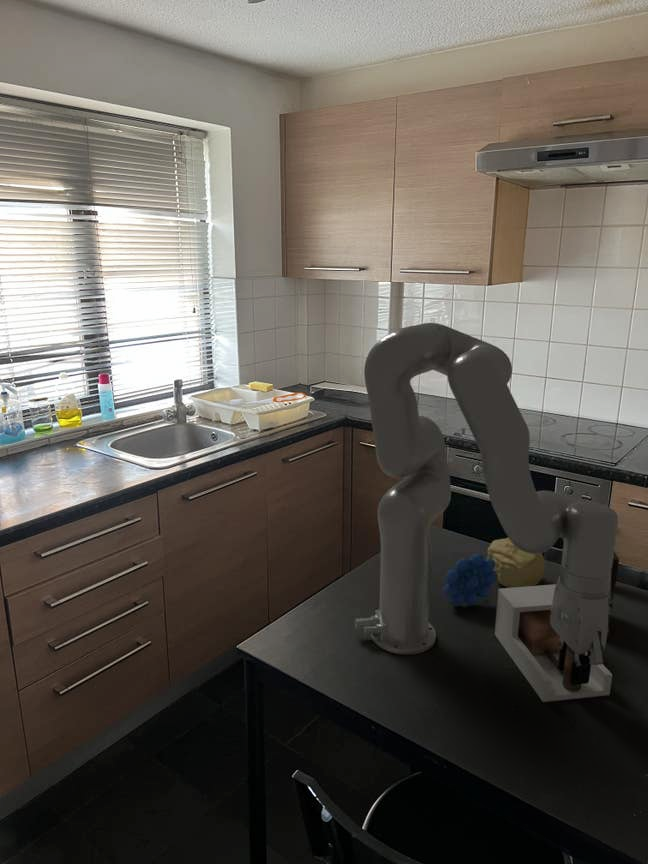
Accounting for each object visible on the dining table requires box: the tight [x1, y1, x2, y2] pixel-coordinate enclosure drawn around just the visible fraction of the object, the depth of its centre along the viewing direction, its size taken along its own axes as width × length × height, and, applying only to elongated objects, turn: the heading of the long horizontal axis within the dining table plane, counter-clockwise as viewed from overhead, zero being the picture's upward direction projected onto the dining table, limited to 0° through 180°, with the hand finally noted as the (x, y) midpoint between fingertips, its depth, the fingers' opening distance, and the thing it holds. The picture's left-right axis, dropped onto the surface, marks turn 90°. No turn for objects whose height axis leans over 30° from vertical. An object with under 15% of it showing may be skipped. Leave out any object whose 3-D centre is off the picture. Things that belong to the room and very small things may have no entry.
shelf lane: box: [494, 583, 613, 703], centre depth 116 cm, size 12×20×10 cm, turn 9°
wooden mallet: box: [518, 610, 585, 691], centre depth 115 cm, size 6×16×8 cm, turn 9°
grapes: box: [443, 553, 498, 607], centre depth 136 cm, size 12×7×12 cm, turn 98°
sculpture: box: [486, 537, 546, 588], centre depth 145 cm, size 11×12×11 cm
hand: (573, 675), depth 109 cm, fingers closed on wooden mallet, 3 cm apart
